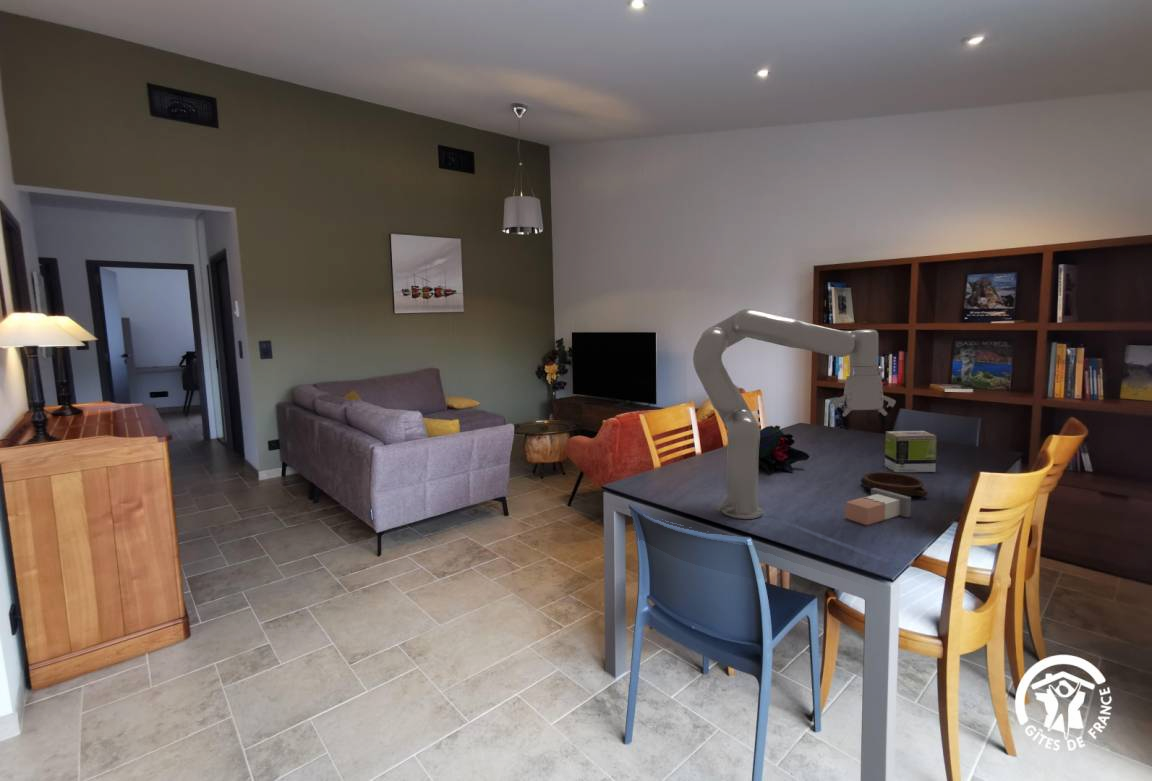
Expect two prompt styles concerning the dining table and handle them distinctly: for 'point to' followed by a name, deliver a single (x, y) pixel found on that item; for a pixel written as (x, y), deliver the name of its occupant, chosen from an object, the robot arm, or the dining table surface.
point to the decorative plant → (778, 450)
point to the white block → (892, 503)
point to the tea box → (910, 451)
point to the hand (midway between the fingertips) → (863, 428)
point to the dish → (894, 483)
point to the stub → (865, 511)
